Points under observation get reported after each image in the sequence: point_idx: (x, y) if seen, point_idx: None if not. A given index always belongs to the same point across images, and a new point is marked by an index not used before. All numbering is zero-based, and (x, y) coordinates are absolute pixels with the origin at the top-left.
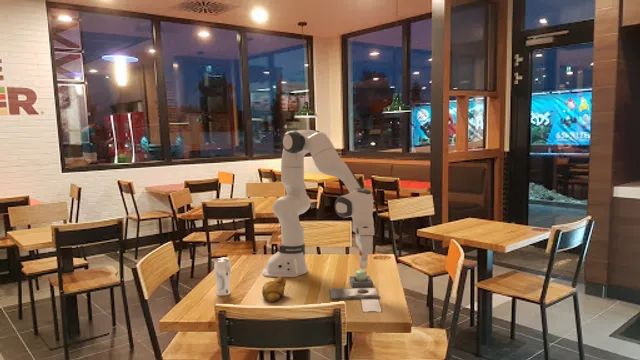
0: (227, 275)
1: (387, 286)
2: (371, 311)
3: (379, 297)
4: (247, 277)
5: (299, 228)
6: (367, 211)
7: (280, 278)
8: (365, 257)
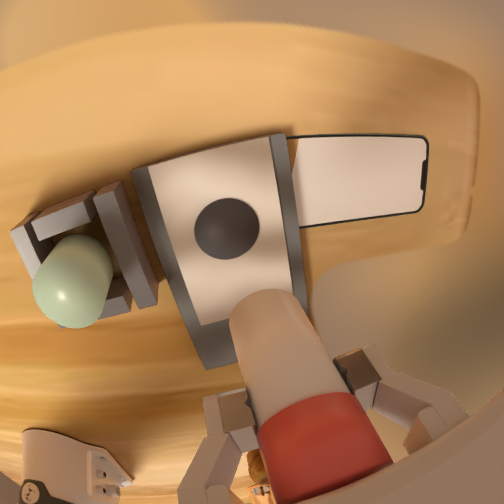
0: None
1: (70, 99)
2: (422, 178)
3: (282, 133)
4: (152, 492)
5: None
6: None
7: None
8: (390, 376)
